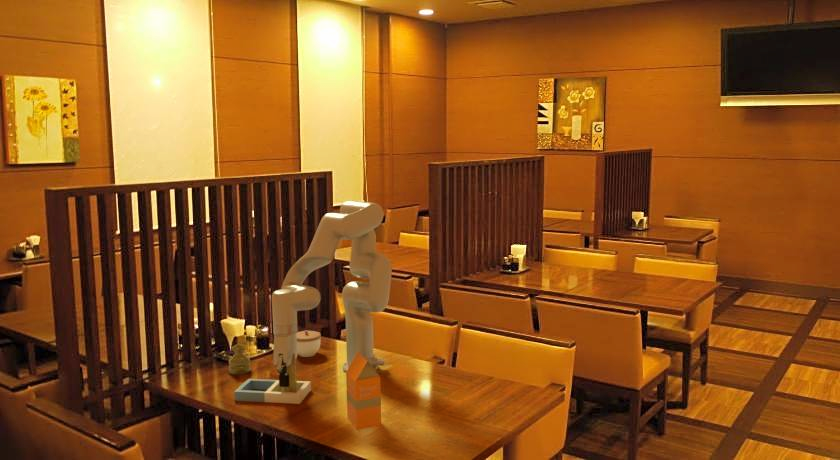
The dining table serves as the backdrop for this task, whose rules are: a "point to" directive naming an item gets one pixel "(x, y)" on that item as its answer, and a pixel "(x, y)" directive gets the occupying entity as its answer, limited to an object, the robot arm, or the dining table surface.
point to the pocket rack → (270, 392)
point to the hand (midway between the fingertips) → (287, 382)
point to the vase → (291, 377)
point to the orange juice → (363, 394)
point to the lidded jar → (308, 343)
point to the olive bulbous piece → (239, 361)
